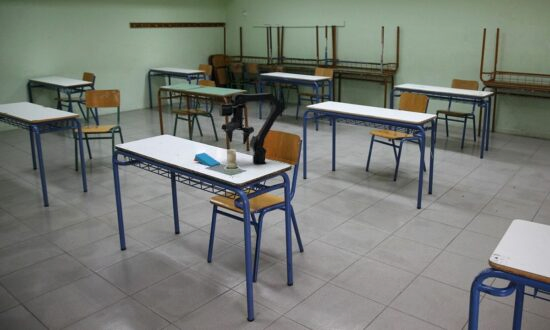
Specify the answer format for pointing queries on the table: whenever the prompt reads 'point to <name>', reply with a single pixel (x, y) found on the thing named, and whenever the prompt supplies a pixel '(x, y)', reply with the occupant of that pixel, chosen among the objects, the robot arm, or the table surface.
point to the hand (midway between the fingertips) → (237, 143)
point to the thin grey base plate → (226, 169)
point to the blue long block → (206, 159)
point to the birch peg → (231, 159)
